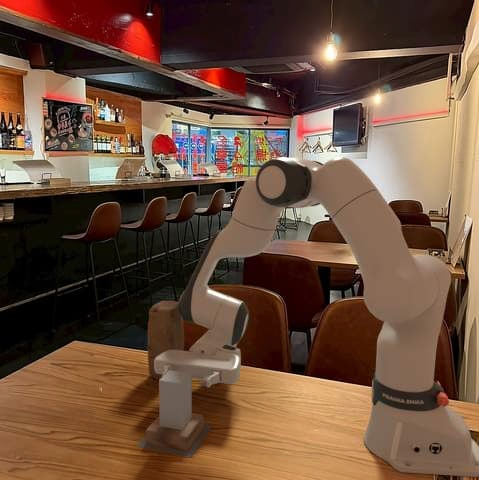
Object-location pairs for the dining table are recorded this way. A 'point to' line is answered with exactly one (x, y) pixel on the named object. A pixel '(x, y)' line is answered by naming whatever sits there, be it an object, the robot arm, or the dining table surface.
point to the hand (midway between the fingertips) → (185, 381)
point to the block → (164, 332)
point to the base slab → (175, 433)
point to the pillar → (175, 400)
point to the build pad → (175, 451)
